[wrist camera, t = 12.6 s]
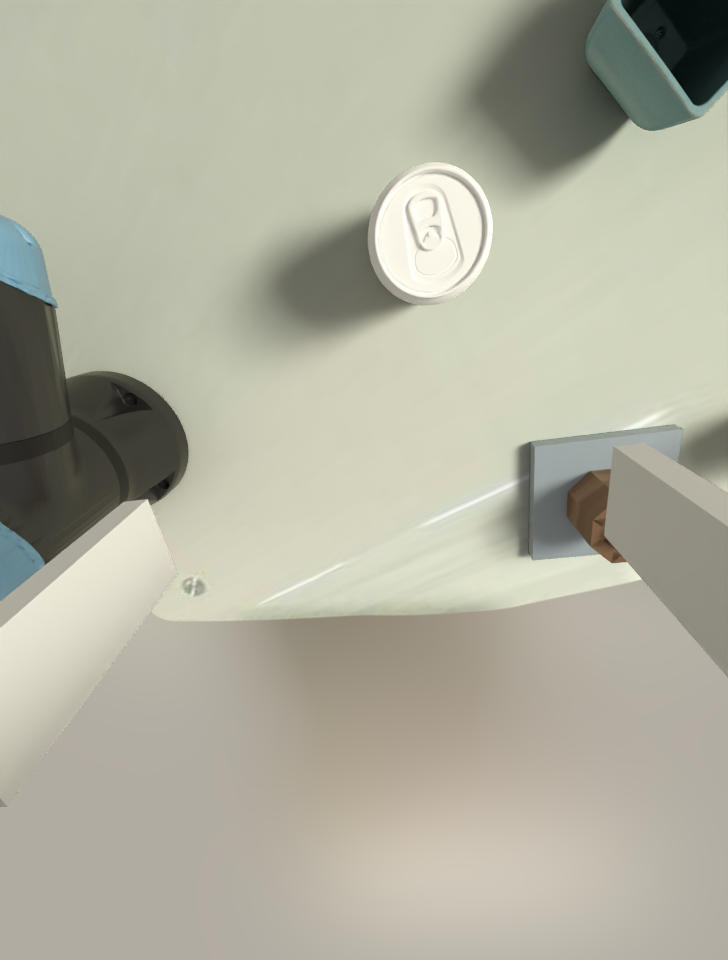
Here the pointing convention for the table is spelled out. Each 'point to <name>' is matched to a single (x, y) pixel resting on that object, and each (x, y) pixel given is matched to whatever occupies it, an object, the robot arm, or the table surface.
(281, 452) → the table surface
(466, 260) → the beverage can
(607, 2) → the flower pot
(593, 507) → the collar
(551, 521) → the post block
